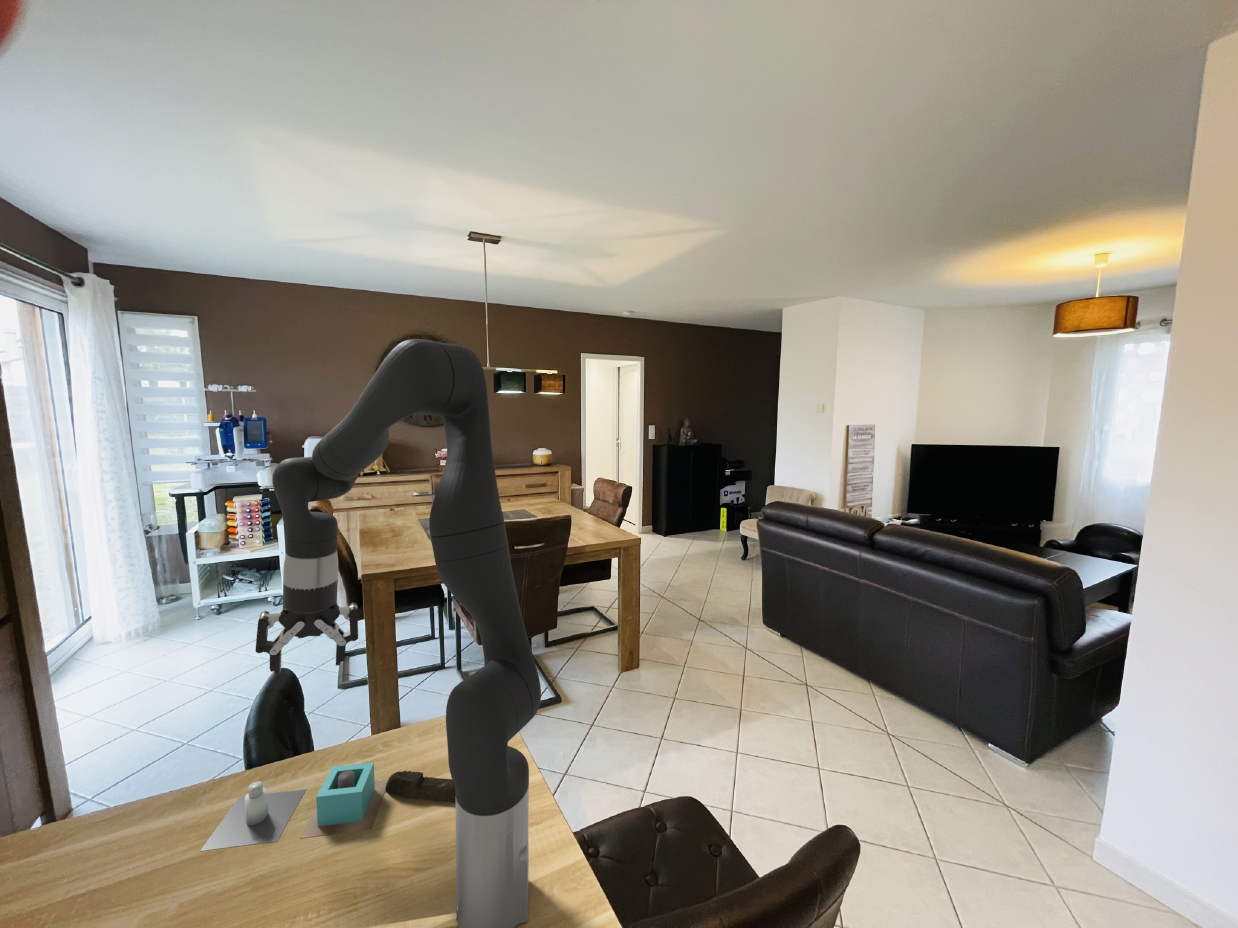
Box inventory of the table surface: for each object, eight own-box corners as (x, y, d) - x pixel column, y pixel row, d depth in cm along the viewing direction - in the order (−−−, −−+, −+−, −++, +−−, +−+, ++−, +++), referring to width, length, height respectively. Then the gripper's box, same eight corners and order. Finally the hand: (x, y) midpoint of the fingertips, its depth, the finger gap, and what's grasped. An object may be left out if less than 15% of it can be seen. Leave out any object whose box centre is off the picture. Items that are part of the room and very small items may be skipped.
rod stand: (389, 785, 85) (388, 750, 84) (371, 834, 75) (370, 796, 74) (326, 792, 83) (324, 757, 82) (299, 844, 73) (297, 804, 72)
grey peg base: (306, 794, 82) (305, 759, 81) (277, 846, 72) (275, 807, 72) (239, 802, 80) (237, 765, 79) (200, 856, 70) (197, 816, 70)
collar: (374, 789, 82) (373, 762, 82) (362, 820, 76) (361, 791, 76) (333, 793, 81) (332, 766, 81) (317, 826, 75) (316, 796, 74)
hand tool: (500, 796, 83) (500, 771, 83) (491, 815, 79) (491, 789, 79) (395, 785, 85) (394, 760, 85) (382, 803, 81) (381, 777, 81)
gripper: (252, 591, 72) (252, 689, 75) (361, 582, 79) (357, 672, 82) (260, 571, 78) (260, 661, 81) (360, 564, 85) (356, 648, 88)
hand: (308, 667), depth 81 cm, fingers open, 8 cm apart
